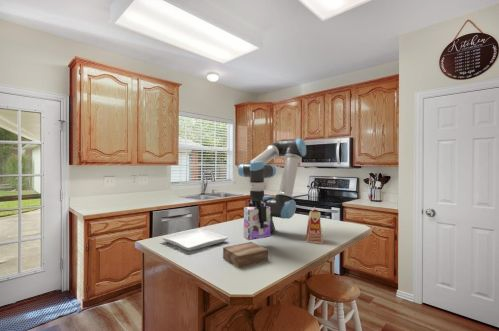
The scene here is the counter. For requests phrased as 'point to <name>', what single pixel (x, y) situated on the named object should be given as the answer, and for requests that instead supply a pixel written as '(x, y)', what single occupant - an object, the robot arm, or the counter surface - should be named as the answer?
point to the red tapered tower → (314, 227)
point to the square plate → (194, 239)
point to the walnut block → (245, 254)
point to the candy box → (256, 223)
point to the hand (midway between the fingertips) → (257, 232)
